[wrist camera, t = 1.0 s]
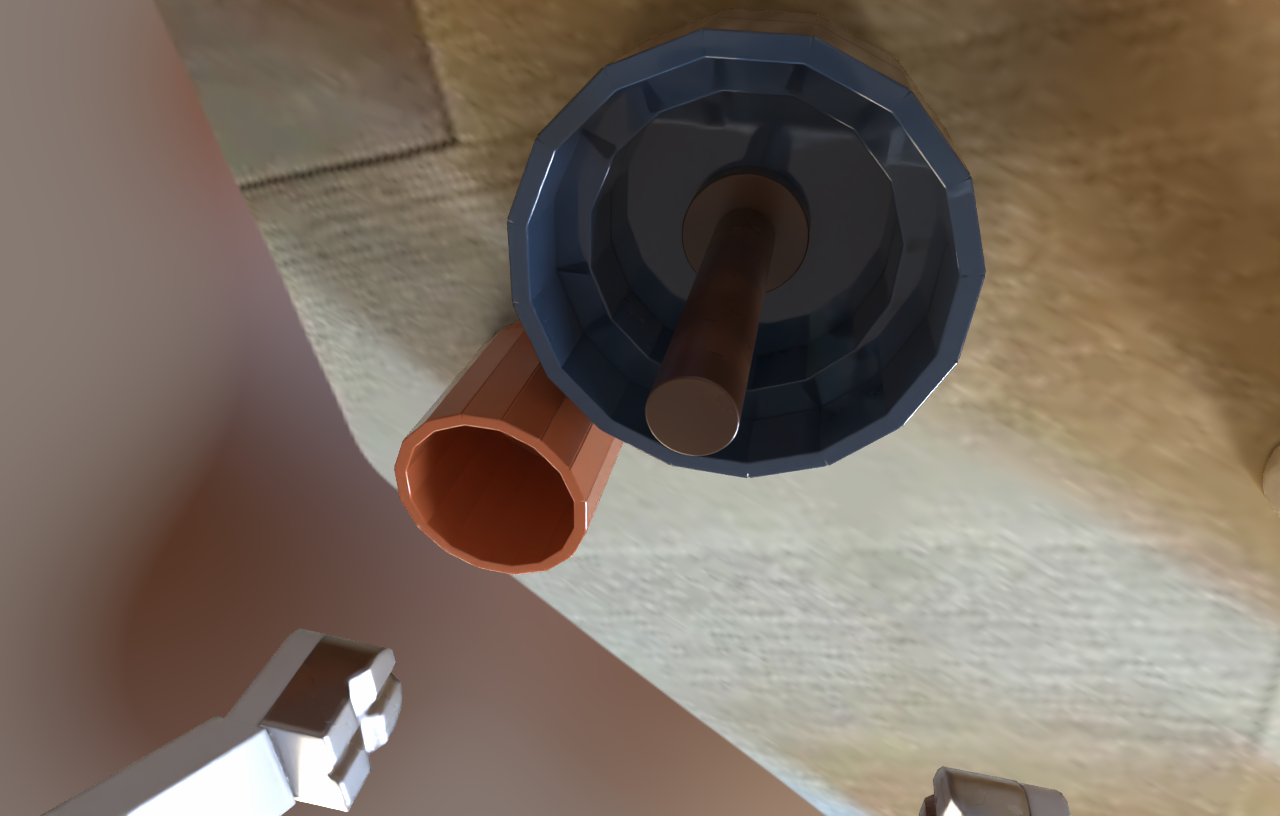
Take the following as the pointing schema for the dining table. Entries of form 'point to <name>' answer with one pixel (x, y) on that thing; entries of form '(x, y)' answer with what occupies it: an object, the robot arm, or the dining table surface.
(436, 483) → the crock
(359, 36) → the dining table surface
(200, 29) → the dining table surface
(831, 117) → the bowl
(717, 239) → the plunger
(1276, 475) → the beer glass
